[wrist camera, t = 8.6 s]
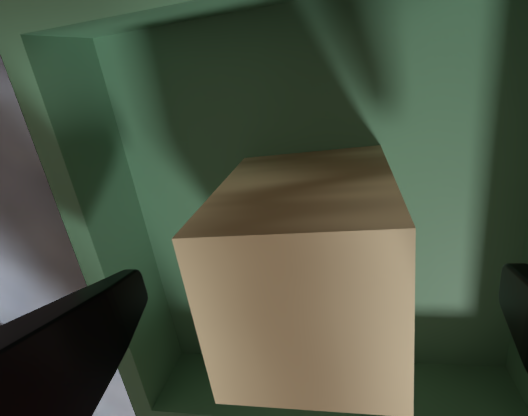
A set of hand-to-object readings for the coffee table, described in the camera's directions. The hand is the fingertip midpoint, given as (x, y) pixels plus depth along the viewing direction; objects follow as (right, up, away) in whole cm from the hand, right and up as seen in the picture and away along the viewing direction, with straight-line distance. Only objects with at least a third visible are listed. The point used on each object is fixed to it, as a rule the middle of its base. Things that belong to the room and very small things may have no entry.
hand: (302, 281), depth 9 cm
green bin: (+1, +2, +5) cm, 5 cm away
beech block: (+1, +2, +4) cm, 4 cm away
